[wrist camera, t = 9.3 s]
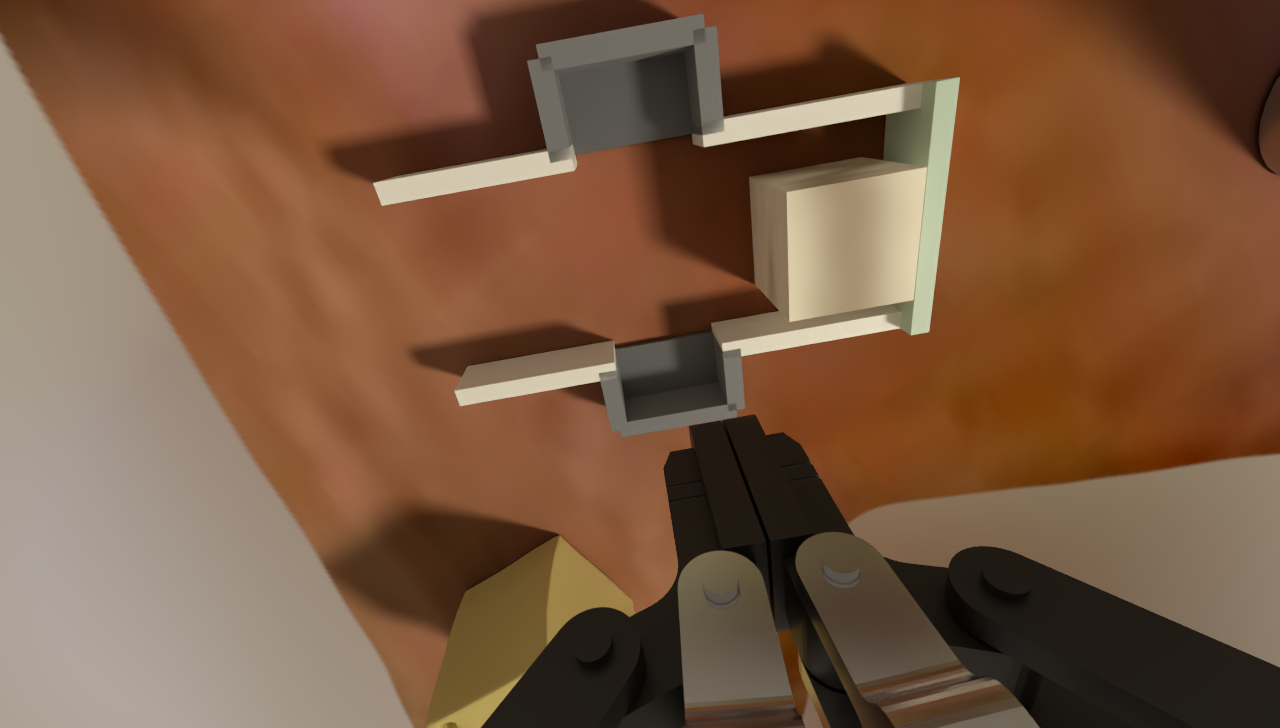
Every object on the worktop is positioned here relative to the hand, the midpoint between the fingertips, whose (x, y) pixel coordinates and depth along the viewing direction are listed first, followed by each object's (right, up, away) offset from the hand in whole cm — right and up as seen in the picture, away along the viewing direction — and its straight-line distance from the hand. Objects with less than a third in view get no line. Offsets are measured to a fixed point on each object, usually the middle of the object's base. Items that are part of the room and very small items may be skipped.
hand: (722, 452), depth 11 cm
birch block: (+7, +10, +16) cm, 20 cm away
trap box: (0, +9, +16) cm, 18 cm away
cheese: (-9, -16, +28) cm, 34 cm away
